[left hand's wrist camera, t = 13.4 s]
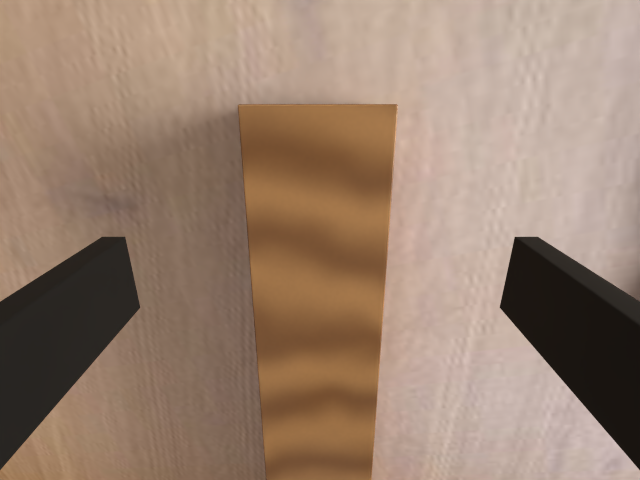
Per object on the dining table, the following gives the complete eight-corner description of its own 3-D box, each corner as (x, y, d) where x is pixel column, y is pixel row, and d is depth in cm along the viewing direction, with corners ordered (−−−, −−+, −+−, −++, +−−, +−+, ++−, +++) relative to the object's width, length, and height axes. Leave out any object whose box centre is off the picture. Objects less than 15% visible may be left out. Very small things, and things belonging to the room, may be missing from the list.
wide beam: (257, 104, 28) (237, 104, 21) (377, 104, 28) (398, 104, 21) (283, 561, 47) (278, 640, 40) (353, 561, 48) (360, 639, 41)
